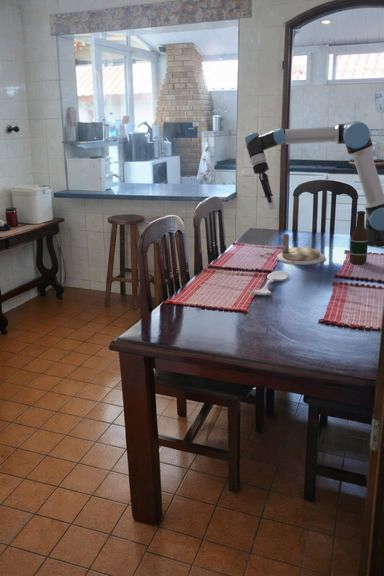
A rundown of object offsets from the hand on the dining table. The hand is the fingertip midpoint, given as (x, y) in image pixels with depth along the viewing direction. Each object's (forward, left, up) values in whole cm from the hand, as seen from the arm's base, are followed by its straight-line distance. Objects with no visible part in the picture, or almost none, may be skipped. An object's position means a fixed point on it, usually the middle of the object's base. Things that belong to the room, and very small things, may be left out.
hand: (272, 209), depth 258 cm
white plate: (0, +19, -22) cm, 29 cm away
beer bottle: (-12, +43, -22) cm, 49 cm away
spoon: (+43, +37, -23) cm, 61 cm away
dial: (0, +19, -21) cm, 28 cm away
